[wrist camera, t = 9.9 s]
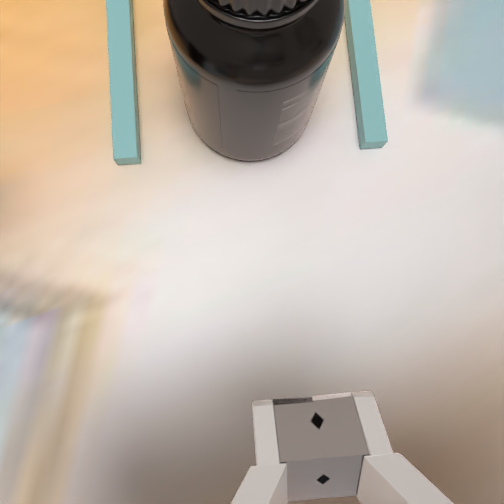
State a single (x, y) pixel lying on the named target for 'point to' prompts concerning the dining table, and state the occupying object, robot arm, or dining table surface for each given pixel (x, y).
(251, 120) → the supplement bottle
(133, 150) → the teal frame
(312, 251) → the dining table surface
